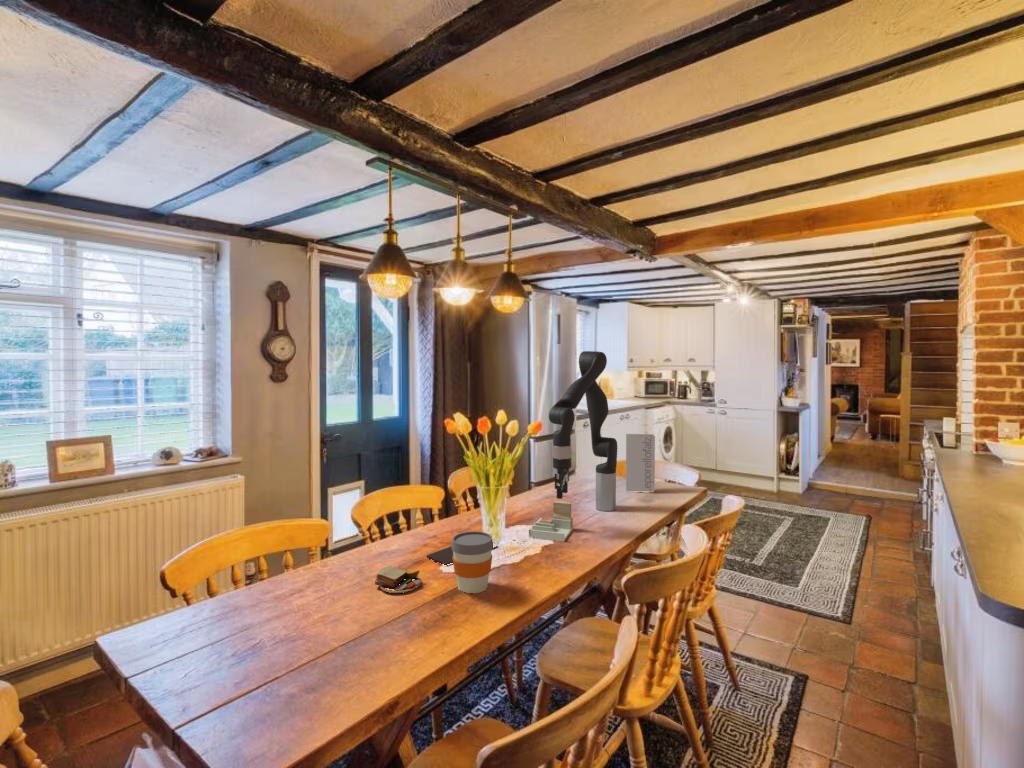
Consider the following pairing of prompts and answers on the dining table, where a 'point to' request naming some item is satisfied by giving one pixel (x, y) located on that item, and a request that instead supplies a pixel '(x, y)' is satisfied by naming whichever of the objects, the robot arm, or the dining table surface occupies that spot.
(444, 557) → the smartphone
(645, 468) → the brochure
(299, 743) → the dining table surface
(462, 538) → the reusable coffee cup
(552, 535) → the tray
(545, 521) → the offcuts
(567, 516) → the tan rectangular block
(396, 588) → the toy sandwich meal
